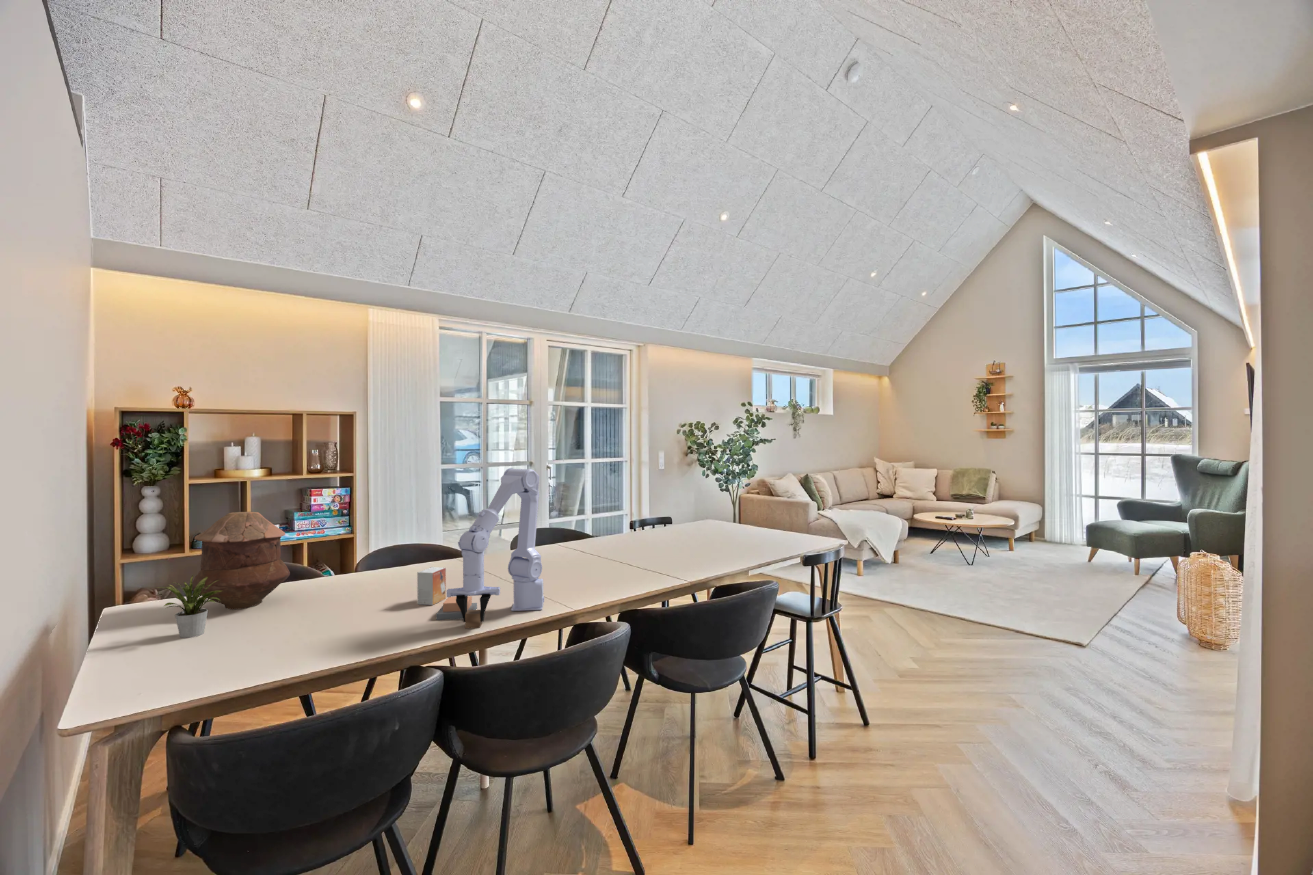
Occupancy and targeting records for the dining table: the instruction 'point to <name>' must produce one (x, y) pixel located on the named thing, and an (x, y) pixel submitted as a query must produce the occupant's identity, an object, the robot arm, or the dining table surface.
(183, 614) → the house plant
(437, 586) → the small box
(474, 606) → the slate tile
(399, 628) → the dining table surface
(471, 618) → the walnut cube
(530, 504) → the robot arm
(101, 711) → the dining table surface
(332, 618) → the dining table surface
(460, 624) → the dining table surface
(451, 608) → the terracotta tile
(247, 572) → the pottery vessel
